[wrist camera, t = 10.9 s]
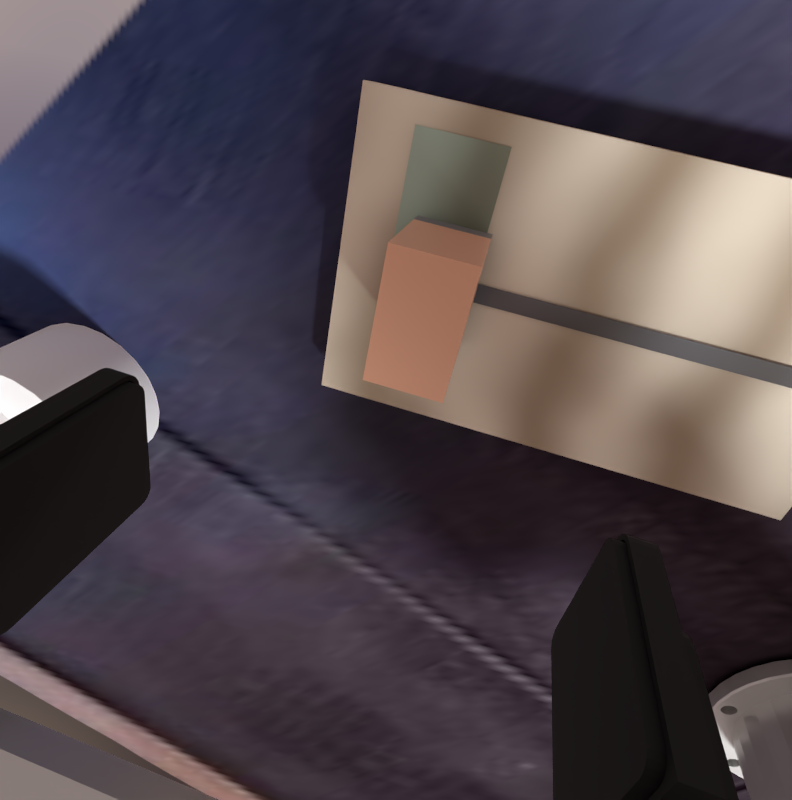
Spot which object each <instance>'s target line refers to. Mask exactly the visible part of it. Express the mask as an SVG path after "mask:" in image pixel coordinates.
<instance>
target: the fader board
mask: <svg viewBox="0 0 792 800" xmlns="http://www.w3.org/2000/svg"><path fill="white" fill-rule="evenodd" d="M417 215H419V216H422V217H426V218H430V219H434V220H438V221H442V222H446V223H450V224H454V225H458V226H462V227H465V228H469V229H473V230H477V231H481V232H485V233H489V234H493V235H492V239H491V242H490V246H489V249H488V253H487V256H486V259H485V263H484V266H483V270H482V273H481V277H480V280H479V284H478V287H477V291H476V294H475V298H474V301H473V304H472V308H471V311H470V315H469V318H468V322H467V325H466V329H465V332H464V336H463V339H462V342H461V346H460V349H459V353H458V356H457V359H456V362H455V366H454V369H453V372H452V375H451V379H450V382H449V385H448V388H447V392H446V395H445V398H444V401H443V403H440V402H437V401H433V400H430V399H426V398H423V397H419V396H416V395H413V394H409V393H406V392H402V391H399V390H395V389H392V388H389V387H385V386H382V385H378V384H375V383H371V382H368V381H365V380H363V375H364V370H365V364H366V359H367V354H368V348H369V343H370V337H371V332H372V326H373V321H374V316H375V310H376V305H377V299H378V294H379V288H380V283H381V278H382V272H383V267H384V261H385V256H386V251H387V245H388V242H389V241H390V240H391V239H392V238H393V237H394V236H396V235H397V234H398V233H399V232H400V231H401V230H402V229H403V228H404V227H405V226H406V225H408V224H409V223H410V222H411V221H412V220H413V219H414V218H415V217H416V216H417ZM322 385H323V386H327V387H330V388H333V389H337V390H340V391H343V392H347V393H350V394H354V395H357V396H360V397H364V398H367V399H371V400H374V401H377V402H381V403H384V404H388V405H391V406H394V407H398V408H401V409H405V410H408V411H411V412H415V413H418V414H422V415H425V416H428V417H432V418H435V419H438V420H442V421H445V422H449V423H452V424H455V425H459V426H462V427H466V428H469V429H472V430H476V431H479V432H483V433H486V434H489V435H493V436H496V437H500V438H503V439H506V440H510V441H513V442H516V443H520V444H523V445H527V446H530V447H533V448H537V449H540V450H544V451H547V452H550V453H554V454H557V455H561V456H564V457H567V458H571V459H574V460H578V461H581V462H584V463H588V464H591V465H595V466H598V467H601V468H605V469H608V470H611V471H615V472H618V473H622V474H625V475H628V476H632V477H635V478H639V479H642V480H645V481H649V482H652V483H656V484H659V485H662V486H666V487H669V488H673V489H676V490H679V491H683V492H686V493H690V494H693V495H696V496H700V497H703V498H706V499H710V500H713V501H717V502H720V503H723V504H727V505H730V506H734V507H737V508H740V509H744V510H747V511H751V512H754V513H757V514H761V515H764V516H768V517H771V518H774V519H778V520H781V519H782V518H783V517H784V516H785V514H786V513H787V512H788V511H789V509H790V508H791V507H792V178H789V177H785V176H781V175H776V174H772V173H768V172H763V171H759V170H755V169H750V168H746V167H742V166H737V165H733V164H729V163H725V162H720V161H716V160H712V159H707V158H703V157H699V156H694V155H690V154H686V153H681V152H677V151H673V150H668V149H664V148H660V147H655V146H651V145H647V144H642V143H638V142H634V141H629V140H625V139H621V138H616V137H612V136H608V135H603V134H599V133H595V132H591V131H586V130H582V129H578V128H573V127H569V126H565V125H560V124H556V123H552V122H547V121H543V120H539V119H534V118H530V117H526V116H521V115H517V114H513V113H508V112H504V111H500V110H495V109H491V108H487V107H482V106H478V105H474V104H470V103H465V102H461V101H457V100H452V99H448V98H444V97H439V96H435V95H431V94H426V93H422V92H418V91H413V90H409V89H405V88H400V87H396V86H392V85H387V84H383V83H379V82H373V81H368V80H363V84H362V91H361V98H360V106H359V113H358V120H357V128H356V135H355V142H354V150H353V157H352V164H351V172H350V179H349V187H348V194H347V201H346V209H345V216H344V223H343V231H342V238H341V245H340V253H339V260H338V267H337V275H336V282H335V289H334V297H333V304H332V311H331V319H330V326H329V333H328V341H327V348H326V355H325V363H324V370H323V377H322Z"/></svg>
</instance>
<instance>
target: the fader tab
mask: <svg viewBox="0 0 792 800" xmlns="http://www.w3.org/2000/svg"><path fill="white" fill-rule="evenodd" d="M492 235H493V234H489V233H485V232H481V231H477V230H473V229H469V228H465V227H462V226H458V225H454V224H450V223H446V222H442V221H438V220H434V219H430V218H426V217H422V216H419V215H417V216H416V217H415V218H414V219H413V220H412V221H411V222H410V223H409V224H408V225H406V226H405V227H404V228H403V229H402V230H401V231H400V232H399V233H398V234H397V235H396V236H394V237H393V238H392V239H391V240H390V241H389V242H388V245H387V251H386V256H385V261H384V267H383V272H382V278H381V283H380V288H379V294H378V299H377V305H376V310H375V316H374V321H373V326H372V332H371V337H370V343H369V348H368V354H367V359H366V364H365V370H364V375H363V380H365V381H368V382H371V383H375V384H378V385H382V386H385V387H389V388H392V389H395V390H399V391H402V392H406V393H409V394H413V395H416V396H419V397H423V398H426V399H430V400H433V401H437V402H440V403H443V401H444V398H445V395H446V392H447V388H448V385H449V382H450V379H451V375H452V372H453V369H454V366H455V362H456V359H457V356H458V353H459V349H460V346H461V342H462V339H463V336H464V332H465V329H466V325H467V322H468V318H469V315H470V311H471V308H472V304H473V301H474V298H475V294H476V291H477V287H478V284H479V280H480V277H481V273H482V270H483V266H484V263H485V259H486V256H487V253H488V249H489V246H490V242H491V239H492Z"/></svg>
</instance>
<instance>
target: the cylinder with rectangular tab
mask: <svg viewBox="0 0 792 800" xmlns="http://www.w3.org/2000/svg"><path fill="white" fill-rule="evenodd" d="M103 368H111V369H114V370H117V371H120V372H123V373H126V374H130V375H133V376H134V377H136V378H137V379H138V381H139V385H140V386H142V387H143V389H144V392H145V407H146V423H147V439H148V442H149V441H150V440H151V439H152V438H153V437H154V435H155V432H156V430H157V428H158V424H159V407H158V402H157V397H156V394H155V392H154V389H153V387H152V385H151V383H150V381H149V378H148V377H147V375H146V374H145V373H144V371H143V370H142V368H141V367H140V366H139V364H138V363H137V361H136V360H135V359H134V358H133V357H132V356H131V355H130V354H129V353H128V352H127V351H126V350H125V349H124V348H122V347H121V346H120V345H119V344H117V343H116V342H114V341H113V340H112V339H110V338H109V337H107V336H106V335H104V334H103V333H100V332H98V331H95V330H93V329H91V328H88V327H86V326H82V325H76V324H70V323H62V324H55V325H50V326H48V327H46V328H43V329H41V330H39V331H37V332H34V333H32V334H30V335H28V336H25V337H23V338H21V339H19V340H16V341H14V342H12V343H10V344H8V345H5V346H3V347H1V348H0V424H2V423H4V422H6V421H8V420H9V419H11V418H13V417H15V416H17V415H18V414H20V413H22V412H24V411H26V410H28V409H29V408H31V407H33V406H35V405H37V404H38V403H40V402H42V401H44V400H46V399H48V398H49V397H51V396H53V395H55V394H57V393H58V392H60V391H62V390H64V389H66V388H67V387H69V386H71V385H73V384H75V383H77V382H78V381H80V380H82V379H84V378H86V377H87V376H89V375H91V374H93V373H95V372H97V371H98V370H100V369H103Z"/></svg>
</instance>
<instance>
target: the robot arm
mask: <svg viewBox="0 0 792 800" xmlns="http://www.w3.org/2000/svg"><path fill="white" fill-rule="evenodd" d="M149 491H150V471H149V455H148V439H147V423H146V407H145V392H144V389H143V387H142V386H140V385H139V381H138V379H137V378H136V377H134V376H133V375H130V374H126V373H123V372H120V371H117V370H114V369H111V368H103V369H100V370H98V371H97V372H95V373H93V374H91V375H89V376H87V377H86V378H84V379H82V380H80V381H78V382H77V383H75V384H73V385H71V386H69V387H67V388H66V389H64V390H62V391H60V392H58V393H57V394H55V395H53V396H51V397H49V398H48V399H46V400H44V401H42V402H40V403H38V404H37V405H35V406H33V407H31V408H29V409H28V410H26V411H24V412H22V413H20V414H18V415H17V416H15V417H13V418H11V419H9V420H8V421H6V422H4V423H2V424H0V635H1V634H3V633H5V632H6V631H8V630H9V629H10V628H11V627H12V626H14V625H15V624H16V623H17V622H18V621H19V620H20V619H21V618H22V617H23V616H24V615H25V614H26V613H27V612H28V611H29V610H30V609H32V608H33V607H34V606H35V605H36V604H37V603H38V602H39V601H40V600H41V599H42V598H43V597H44V596H45V595H46V594H47V593H48V592H50V591H51V590H52V589H53V588H54V587H55V586H56V585H57V584H58V583H59V582H60V581H61V580H62V579H63V578H64V577H65V576H67V575H68V574H69V573H70V572H71V571H72V570H73V569H74V568H75V567H76V566H77V565H78V564H79V563H80V562H81V561H82V560H83V559H85V558H86V557H87V556H88V555H89V554H90V553H91V552H92V551H93V550H94V549H95V548H96V547H97V546H98V545H99V544H100V543H102V542H103V541H104V540H105V539H106V538H107V537H108V536H109V535H110V534H111V533H112V532H113V531H114V530H115V529H116V528H117V527H118V526H120V525H121V524H122V523H123V522H124V521H125V520H126V519H127V518H128V517H129V516H130V515H131V514H132V513H133V512H134V511H135V510H136V509H138V508H139V507H140V506H141V505H142V504H143V503H144V501H145V500H146V498H147V497H148V494H149ZM551 660H552V738H553V800H739V799H738V796H737V792H736V789H735V785H734V782H733V778H732V775H731V772H733V773H735V774H736V775H738V776H739V777H741V778H743V779H744V781H745V784H746V787H747V790H748V794H749V797H750V800H792V659H789V660H781V661H774V662H770V663H766V664H763V665H759V666H755V667H752V668H749V669H747V670H744V671H742V672H739V673H737V674H735V675H733V676H731V677H730V678H728V679H726V680H725V681H723V682H722V683H720V684H719V685H718V686H717V687H716V688H715V689H714V690H713V691H711V692H710V693H709V694H708V691H707V688H706V684H705V681H704V677H703V674H702V670H701V667H700V663H699V660H698V657H697V653H696V650H695V647H694V645H693V642H692V640H691V639H690V637H689V636H688V635H687V634H686V633H683V632H682V630H681V626H680V622H679V619H678V615H677V611H676V608H675V604H674V600H673V597H672V593H671V589H670V586H669V582H668V578H667V574H666V571H665V567H664V563H663V560H662V556H661V552H660V549H659V547H658V546H657V545H656V544H655V543H651V542H648V541H645V540H642V539H639V538H636V537H633V536H630V535H627V534H622V535H621V536H619V537H618V539H617V540H616V539H613V538H609V539H607V541H606V542H605V543H604V545H603V547H602V549H601V550H600V552H599V554H598V556H597V557H596V559H595V561H594V563H593V564H592V566H591V568H590V570H589V571H588V573H587V575H586V577H585V578H584V580H583V582H582V584H581V585H580V587H579V589H578V591H577V592H576V594H575V596H574V598H573V599H572V601H571V603H570V605H569V606H568V608H567V610H566V611H565V613H564V615H563V617H562V618H561V620H560V622H559V624H558V625H557V627H556V629H555V632H554V635H553V639H552V647H551ZM0 800H218V799H215V798H213V797H211V796H208V795H206V794H204V793H201V792H199V791H196V790H194V789H192V788H189V787H187V786H185V785H182V784H180V783H178V782H175V781H172V780H171V779H168V778H166V777H163V776H161V775H159V774H156V773H154V772H152V771H149V770H147V769H144V768H142V767H140V766H137V765H135V764H133V763H130V762H128V761H125V760H123V759H120V758H118V757H116V756H114V755H111V754H109V753H107V752H104V751H102V750H99V749H97V748H95V747H92V746H90V745H87V744H85V743H83V742H80V741H78V740H76V739H73V738H71V737H68V736H66V735H64V734H61V733H59V732H56V731H54V730H52V729H49V728H47V727H45V726H42V725H40V724H37V723H35V722H33V721H30V720H28V719H25V718H23V717H21V716H18V715H16V714H13V713H11V712H8V711H6V710H3V709H1V708H0Z"/></svg>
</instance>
